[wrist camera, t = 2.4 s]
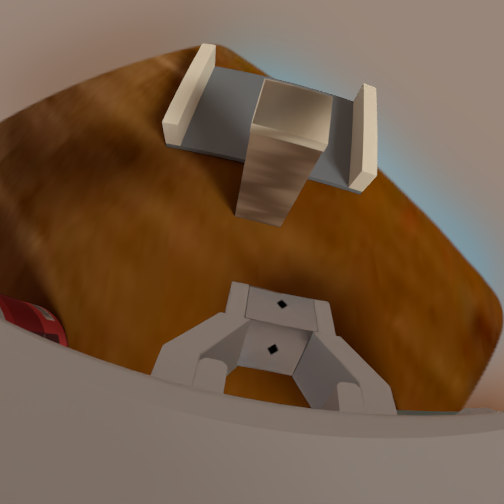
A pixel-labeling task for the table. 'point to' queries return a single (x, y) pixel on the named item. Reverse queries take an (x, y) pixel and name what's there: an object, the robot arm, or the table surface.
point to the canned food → (32, 319)
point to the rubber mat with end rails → (241, 115)
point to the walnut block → (282, 150)
